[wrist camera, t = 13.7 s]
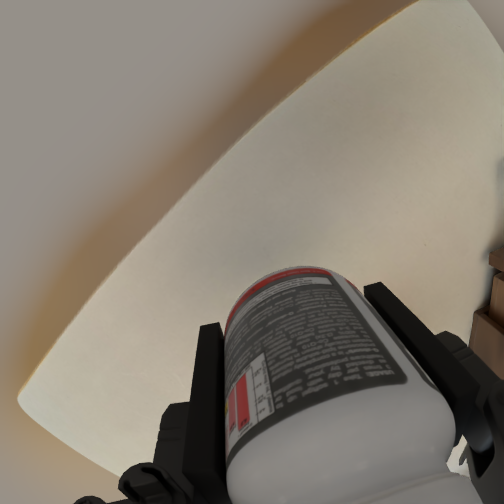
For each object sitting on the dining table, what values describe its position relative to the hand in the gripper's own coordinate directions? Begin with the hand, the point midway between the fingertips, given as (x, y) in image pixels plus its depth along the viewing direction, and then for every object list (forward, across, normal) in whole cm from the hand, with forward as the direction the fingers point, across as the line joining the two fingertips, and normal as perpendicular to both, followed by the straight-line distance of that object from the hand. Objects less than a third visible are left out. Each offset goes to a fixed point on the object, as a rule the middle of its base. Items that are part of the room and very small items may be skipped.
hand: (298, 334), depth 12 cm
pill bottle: (+1, 0, 0) cm, 1 cm away
